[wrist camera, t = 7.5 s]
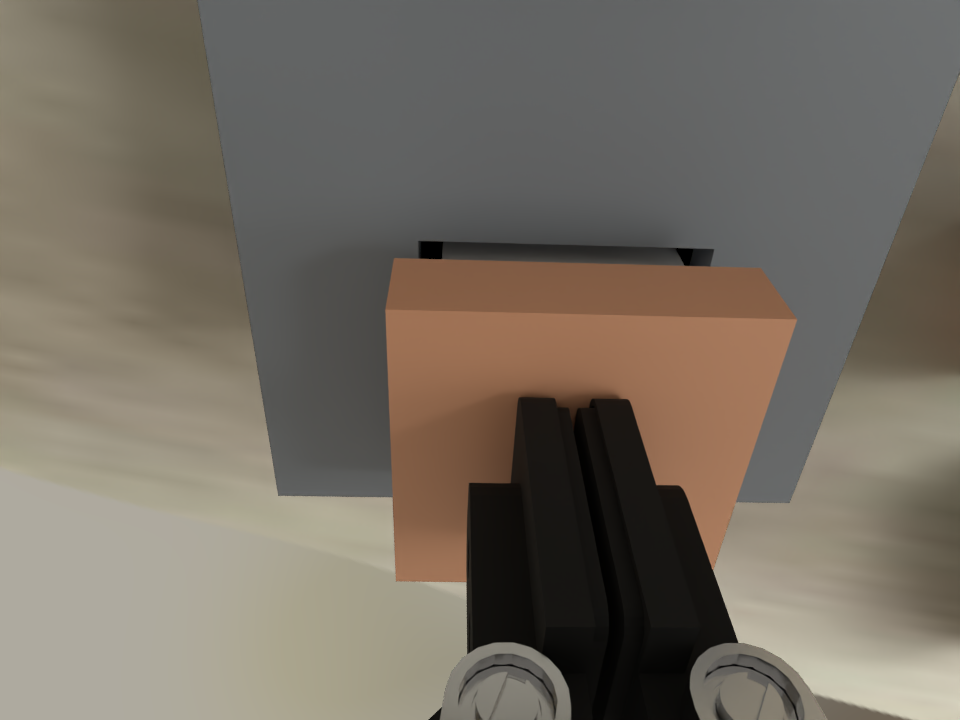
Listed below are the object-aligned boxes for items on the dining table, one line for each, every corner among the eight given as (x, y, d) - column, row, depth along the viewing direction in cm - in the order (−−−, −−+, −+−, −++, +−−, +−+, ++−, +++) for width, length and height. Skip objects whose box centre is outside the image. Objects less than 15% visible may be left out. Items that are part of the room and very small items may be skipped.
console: (959, -578, 11) (1347, -911, 6) (712, 348, 21) (789, 502, 16) (226, -632, 11) (27, -1034, 6) (322, 339, 20) (278, 495, 16)
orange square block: (678, 152, 16) (797, 319, 10) (636, 367, 19) (707, 584, 13) (413, 143, 15) (384, 309, 10) (415, 363, 19) (395, 581, 13)
